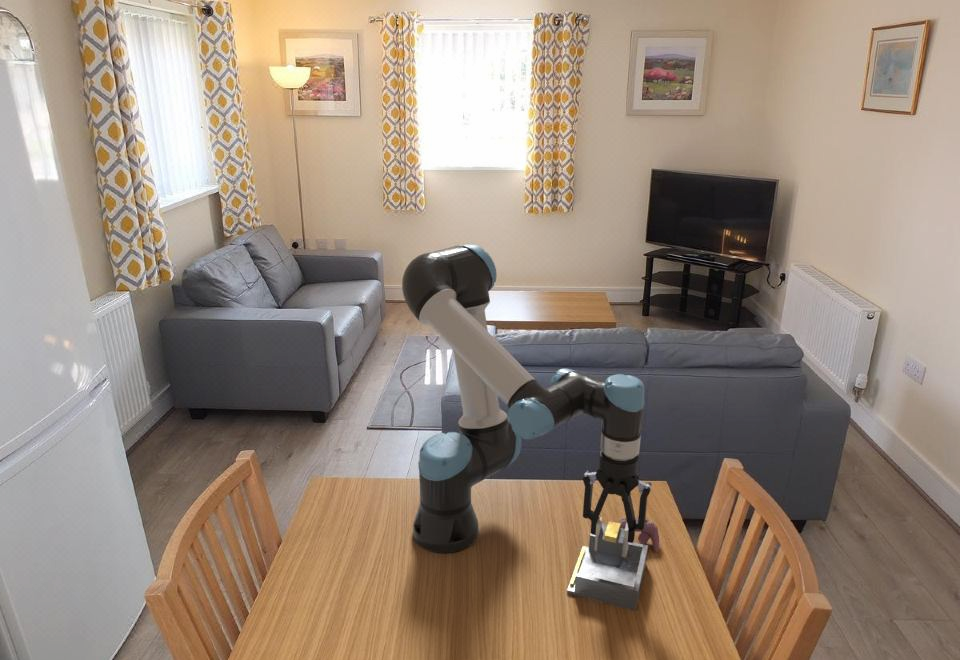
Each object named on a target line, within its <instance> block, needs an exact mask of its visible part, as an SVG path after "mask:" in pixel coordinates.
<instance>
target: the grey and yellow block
mask: <svg viewBox="0 0 960 660" xmlns="http://www.w3.org/2000/svg"><path fill="white" fill-rule="evenodd" d="M624 530H625V529H623V528H620V523H617V522H614V521H608V523H607V524H604V523H602V527H601V530H600V533H599V536H598V543H597V556H596V563H601V564H605V565H609V566H614V567H618V568H621V564H622V560H623V557H622V553H623V542H624Z"/></svg>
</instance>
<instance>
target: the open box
mask: <svg viewBox="0 0 960 660" xmlns="http://www.w3.org/2000/svg"><path fill="white" fill-rule="evenodd" d="M595 536H596V535H593V534H591V532H590V533H589V541H588V546H584V545H582V548H581V549H580V550H581V551H580V553H579V557H578V558H577V561H576V563H575V567H574V570H573V573H572V577H571V579H570V581H569V584H568V587H567V591H566V593H567V594H568V595H569V594H570V595H574V596H576V597H577V596H578V597H581V598H585V599H588V600H591V601H592V600H593V601H596V602H600V603H604V604H608V605H611V606H616V607H620V608H623V609H626V610H627V609H628V610H632V611H635V612H636V611H637V608H638V603H639V602H638V601H639V600H640V595H641V594H640V593H641V589H642V583H643V580H644V574H645V570H646V565H647V559H648V558H647V557H648V548H649V545H648V544H642V543H640V542H639V543H638V542H635V541H633V543H630V542H628V551H627V555H626V558H625V557H623V560H622V564H621V568H618V567H614V566H609V565H605V564H601V563H596V556H597V551H594V549H595Z"/></svg>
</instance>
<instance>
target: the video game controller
mask: <svg viewBox="0 0 960 660" xmlns="http://www.w3.org/2000/svg"><path fill="white" fill-rule="evenodd" d="M635 519H636V520H638V517H635ZM616 523H620V528H623V529H625V527H626V523H627V519H626V518H622V519H619V520H617V522H616ZM635 532H639V534H638V536H637V539H638V542H639V544H643V545H647V543H648V542H649V540H651V543H652V544H651V545H652V549H653V550H654V552H655V553H658V552H659V549H660V534H659V529H658V525H656V523H654V522H653V521H651V520H649V519H646V520H645V525H644V529H643V530H639V529H636V530H635Z"/></svg>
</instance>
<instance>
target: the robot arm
mask: <svg viewBox="0 0 960 660" xmlns="http://www.w3.org/2000/svg"><path fill="white" fill-rule="evenodd" d="M497 274H498V273H497V267H496V265H495V262H494V260H493V258H492V257H491V256H490V254H489V253H488V252H486V250H485V249H484V248H483V247H481V246H478V245H476V244H472V243H471V244H469V243H468V244H462V245H460V244H459V245H455V246H451V247H447V248H443V249H439V250H435V251H432V252H425V253H422V254H420V255H417V256H416V257H415V258H413V259H412V260H411V261H410V262H409V264H408V265H407V266H406V268H405V270H404V273H403V275H402V279H401V280H402V281H401V283H402V284H401V288H402V289H401V290H402V295H403V298H404V301H405V303H406V306H407V307H408V308H409V311H410V312H411V313H412V315H413V316H414V317H415V318H416V319H417V320H418V321H419V322H420V324H421V325H423V326H430V327H431V328H432V329H433V330H434V332H436V333H437V334H438V335H439V336H440V337H441V338H442V339H443V341H444V342H446V344H448V346H449V347H450V348H451V349H452V351H453V358H454V359H453V360H454V364H455V369H456V375H457V383H458V389H459V393H460V400H461V407H462V414H463V415H462V416H461V417H460V418H459V419H458V427H459V428H458V429H459V432H456V431H448V432H447V433H444V432H440V433H437V434H435V435H432V436H431V437H429V438H428V439H426V441H424V443H423V444H422V446H421V448H420V449H419V459H418V462H417V463H418V465H417V466H418V473H419V474H418V477H419V478H418V479H419V506H418V509H417V512H416V514H415V517H414V520H413V525H412V530H413V531H412V534H413V539H414V541H415V542H416V543H417V544H418V546H420V547H421V548H423V549H425V550H426V551H430V552H433V553H439V554H440V553H441V554H448V553H455V552H460V551H463V550H465V549H467V548H468V547H470V546H472V545H473V544H474V543H475V542H476V541H477V539H478V536H479V521H478V518H477V515H476V512H475V509H474V507H473V504H472V488H473V486H475V485H477V484H478V483H481V482H482V481H484V480H486V479H487V478H490V477H491V476H492V475H494V474H496V473H499V471H503V470H505V469H506V468H508V467H509V466H510V465H511V464H512V463H514V462H515V461H516V460H517V458H518V457H519V456H520V453H521V449H522V439H523V440H534V439H536V438H539V437H541V436H544V435H546V434H549V433H550V432H551V431H553V430H554V429H555V428H557V427H559V426H560V425H563V424H564V423H567V422H569V421H570V420H572V419H574V418H576V417H577V416H579V415H581V414H584V415H586V416H589V417H591V418H594V419H599V420H601V436H600V444H599V445H600V450H599V460H598V469H597V470H596V471H593V472H591V471H590V470H585V471H584V474H583V477H582V481H583V484H584V493H583V494H584V496H583V506H582V517H583V519H588V520H590V523H591V524H590V533H591V534H593V535H596V536H595V549H594V551H597V543H598V536H599V533H600V530H601V527H602V524H603V517H601V516H600V515H601V512H602V510H603V508H604V505H605V502H606V500H607V498H608V496H609V495H615V496H618V497H620V498H621V502H622V503H623V509H624V513H625V519H627V523H626V527H625V530H624V542H623V553H622V557H625V558H626V555H627V551H628V542H630V543H633V542H635V538H636V537H635V536H636V531H635V530H636V529H639V530H643V529H644V525H645V520H647V507H648V505H647V504H648V496H649V495H650V493H651V489H652V482H649V481H647V482H644V481H642V480H640V477H639V475H638V469H639V459H640V456H639V454H640V448H641V446H640V445H641V437H642V434H641V433H642V423H643V422H642V421H643V416H644V415H643V414H644V409H645V405H646V404H645V384H644V383H643V381H642V380H641V379H639V378H638V377H636V376H634V375H631V374H630V375H629V374H627V375H626V374H621V373H619V374H618V373H617V374H612V375H610V376H609V377H607V378H606V379H605V380H603V379H600V378H598V377H596V376H593V375H590V374H587V373H584V372H582V371H580V370H576V369H575V370H574V369H571V368H565V367H564V368H560V369H558V370H557V371H555V373H554V375H553V376H551V379H550V381H549V384H548V386H547V387H546V388H545V387H544V386H543V385H542V384H541V383H540V382H539V381H537V379H535V377H533V376H532V374H531V373H529V371H528V370H526V368H525V367H524V366H522V365H521V363H519V361H517V359H516V358H514V356H513V355H512V354H511V353H510V352H509V351H508V350H507V349H506V348H505V347H504V346H503V345H502V344H501V343H500V342H499V341H498V340H497V339H496V338H495V337H494V336H493V335H492V334H491V333H490V332H489V330H488V323H487V317H486V309H487V307H488V305H489V304H490V303H491V300H490V294H489V292H490V291H491V290H492V288H494V287H495V283H496V282H497ZM499 399H500V400H501V401H502V402H503V403H504V404H505V405H506V406H507V407H508V409H509V410H508V413H506V411H504V410H502V409H501V408H500V403H499ZM596 479H597V482H598V483H599V485H600V486H601V488H602V491H601V492H600V493H601V494H600V496H599V498H598V501H597V503H596V506H595V508H594V510H592V501H593V489H594V484H595V482H596ZM636 488H638V493H639V494H640V497H639V506H638V517H637V518H638V520H636V519H635V518H636V516H635V510H634V505H633V499H632V491H633V490H634V489H636Z"/></svg>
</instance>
